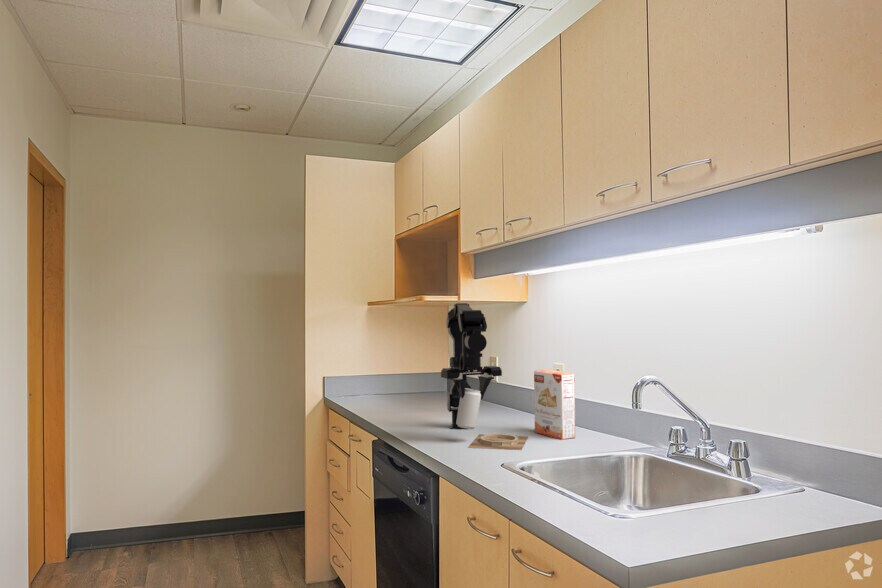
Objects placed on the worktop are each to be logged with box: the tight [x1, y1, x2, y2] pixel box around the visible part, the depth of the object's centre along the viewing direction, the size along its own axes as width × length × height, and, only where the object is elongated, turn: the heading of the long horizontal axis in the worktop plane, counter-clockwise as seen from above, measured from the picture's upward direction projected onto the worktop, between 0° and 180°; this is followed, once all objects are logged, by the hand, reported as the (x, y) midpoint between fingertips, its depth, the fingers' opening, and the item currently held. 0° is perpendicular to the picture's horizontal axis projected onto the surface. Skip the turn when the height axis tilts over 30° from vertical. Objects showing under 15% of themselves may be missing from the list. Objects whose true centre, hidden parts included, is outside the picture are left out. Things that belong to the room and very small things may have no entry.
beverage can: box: [456, 388, 482, 430], centre depth 203 cm, size 6×6×12 cm
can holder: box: [467, 433, 529, 451], centre depth 201 cm, size 20×16×2 cm
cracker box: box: [533, 369, 576, 441], centre depth 211 cm, size 14×6×21 cm, turn 30°
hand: (471, 399), depth 203 cm, fingers closed on beverage can, 6 cm apart
